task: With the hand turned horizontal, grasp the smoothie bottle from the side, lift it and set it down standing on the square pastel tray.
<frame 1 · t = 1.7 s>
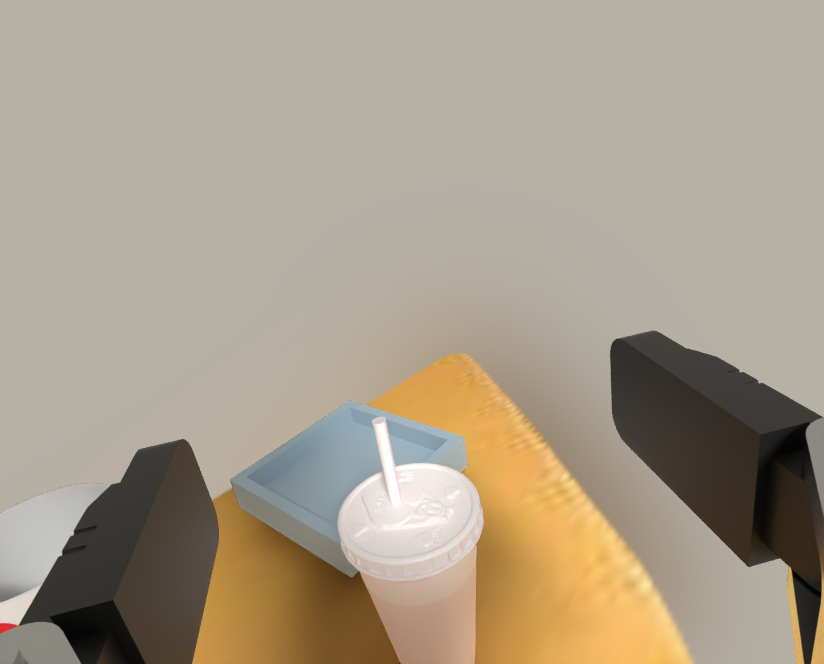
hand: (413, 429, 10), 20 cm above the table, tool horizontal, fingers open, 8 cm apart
smoothie: (439, 660, 28), on the table
square pastel tray: (358, 504, 39), on the table
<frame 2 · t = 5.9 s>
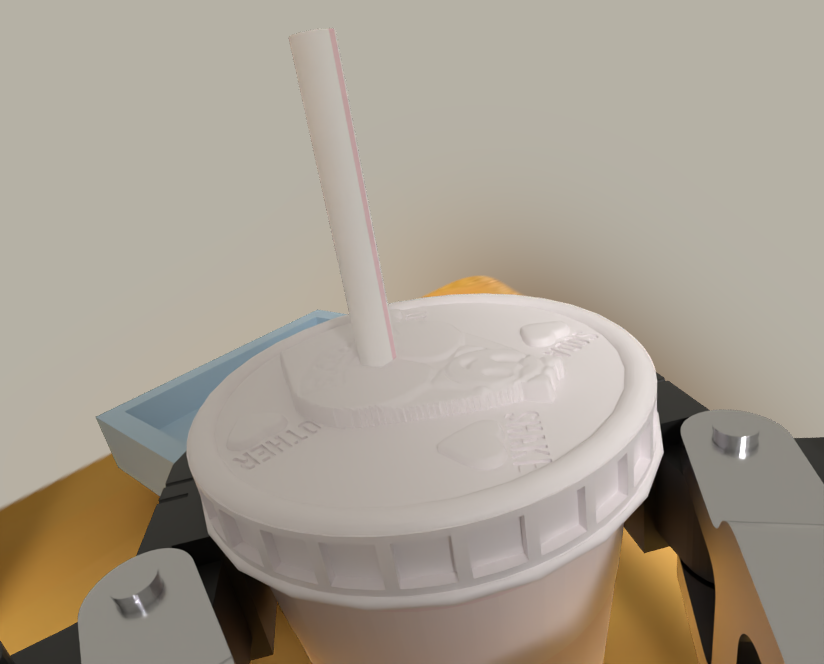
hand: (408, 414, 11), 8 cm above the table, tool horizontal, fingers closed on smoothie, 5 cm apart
square pastel tray: (324, 461, 23), on the table
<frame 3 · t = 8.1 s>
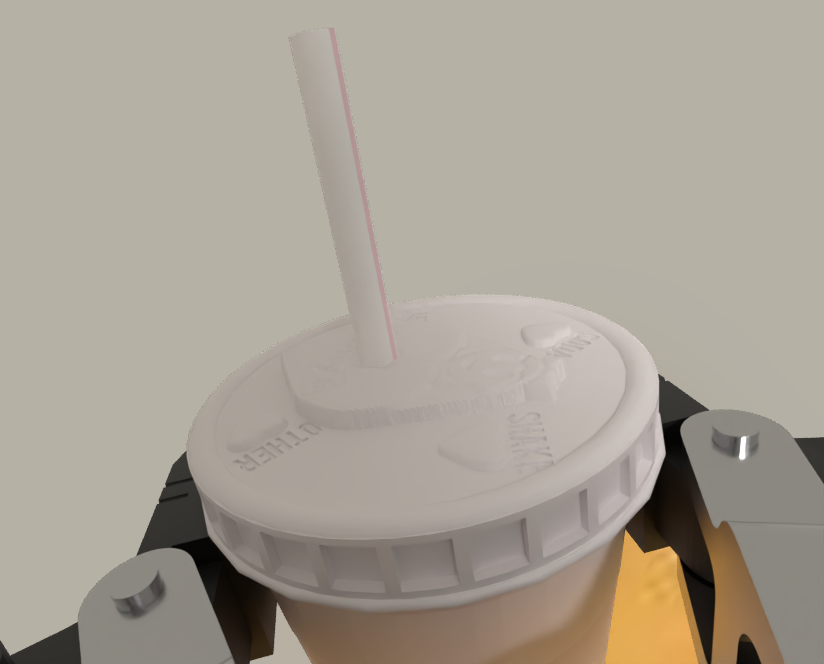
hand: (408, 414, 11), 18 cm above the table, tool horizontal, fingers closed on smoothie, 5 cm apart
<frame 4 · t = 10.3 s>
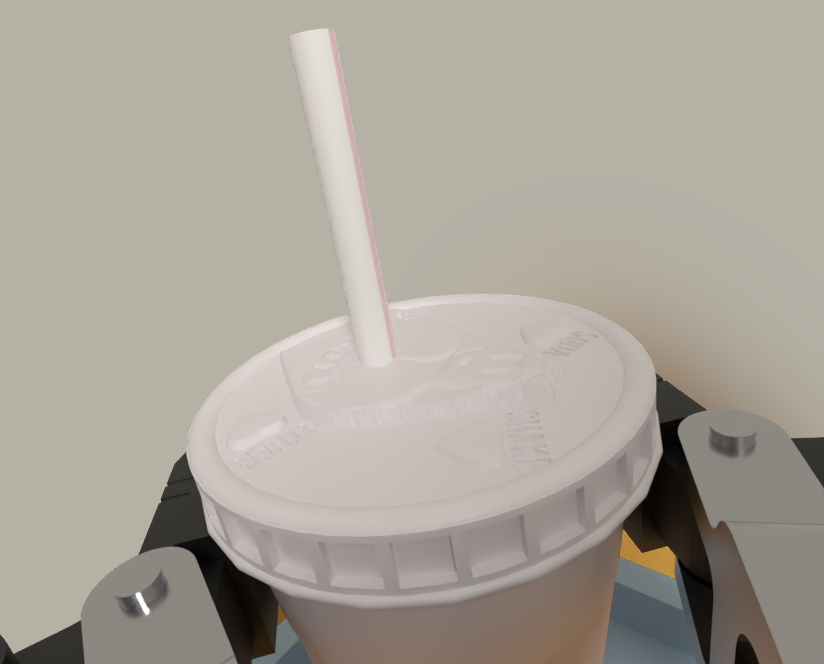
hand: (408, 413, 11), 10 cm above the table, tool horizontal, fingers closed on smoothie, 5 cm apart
when the fingers open (10 cm above the table, at t = 10.6 s): smoothie stays where it is, resting on square pastel tray.
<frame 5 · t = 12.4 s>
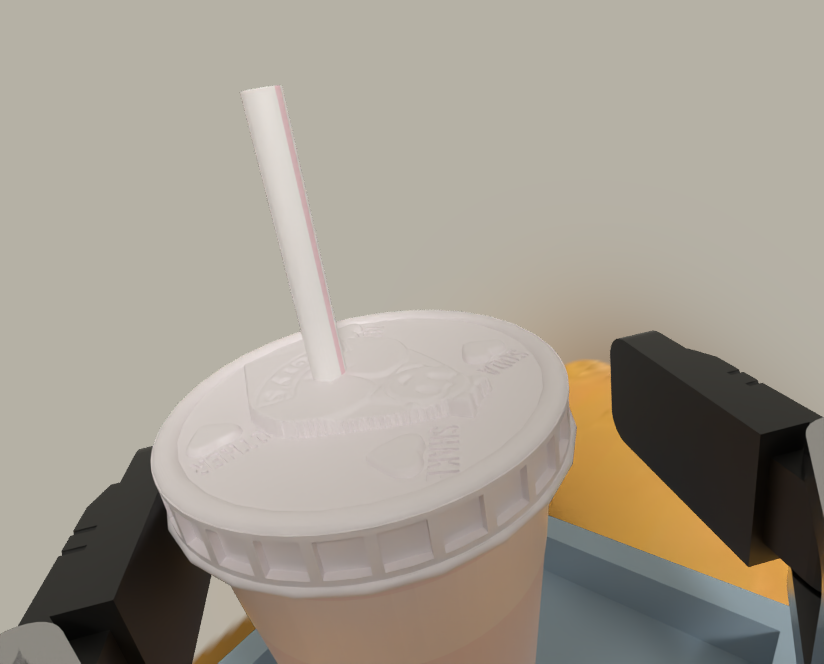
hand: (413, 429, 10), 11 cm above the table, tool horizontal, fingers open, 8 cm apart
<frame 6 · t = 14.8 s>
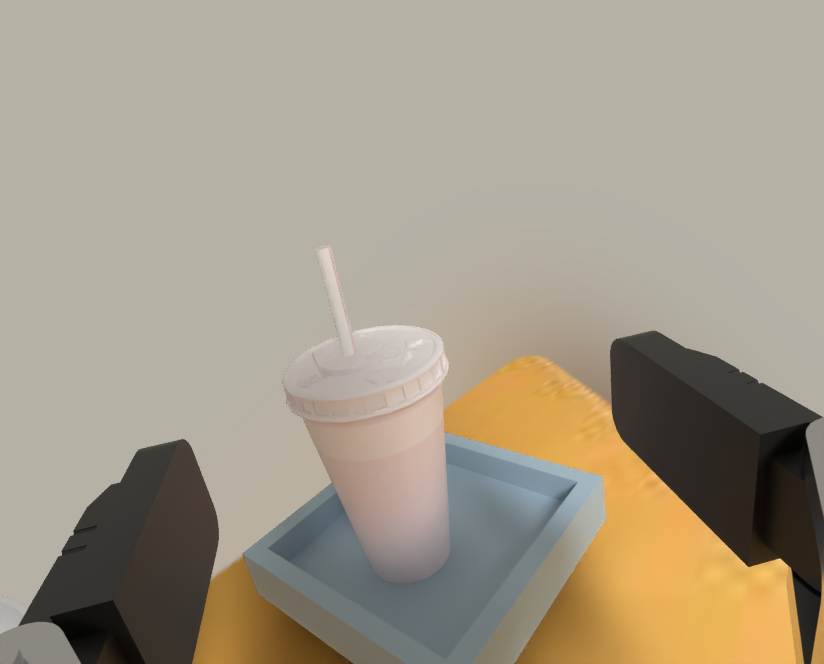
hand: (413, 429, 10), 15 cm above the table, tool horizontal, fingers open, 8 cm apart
smoothie: (410, 553, 24), point 2 cm above the table, touching square pastel tray
square pastel tray: (438, 582, 26), on the table
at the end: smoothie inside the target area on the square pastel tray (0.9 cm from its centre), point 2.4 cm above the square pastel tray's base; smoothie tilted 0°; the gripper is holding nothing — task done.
